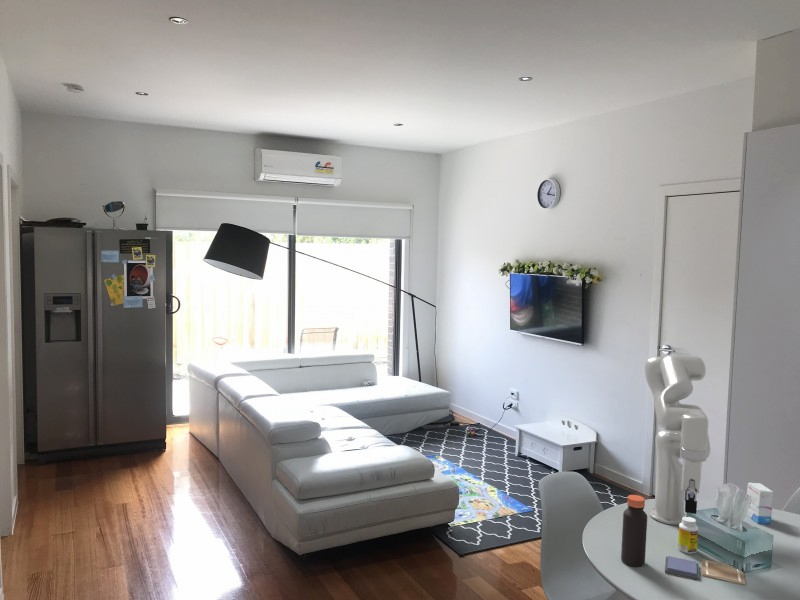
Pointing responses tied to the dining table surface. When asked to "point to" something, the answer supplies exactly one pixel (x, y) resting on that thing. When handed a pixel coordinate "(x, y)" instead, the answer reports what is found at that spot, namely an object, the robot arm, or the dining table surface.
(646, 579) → the dining table surface
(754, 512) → the ink box
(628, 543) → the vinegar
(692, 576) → the ink pad
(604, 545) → the dining table surface
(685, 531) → the supplement bottle
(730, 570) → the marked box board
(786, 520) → the dining table surface
